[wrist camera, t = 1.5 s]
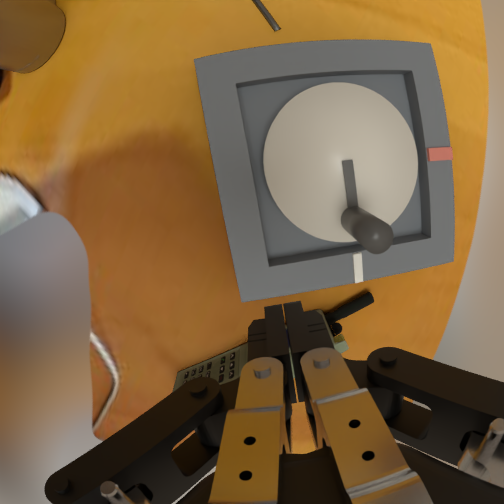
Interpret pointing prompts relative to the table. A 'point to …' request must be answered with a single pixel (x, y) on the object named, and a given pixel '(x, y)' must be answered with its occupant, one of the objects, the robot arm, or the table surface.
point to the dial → (341, 164)
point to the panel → (252, 170)
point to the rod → (266, 15)
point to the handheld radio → (235, 359)
